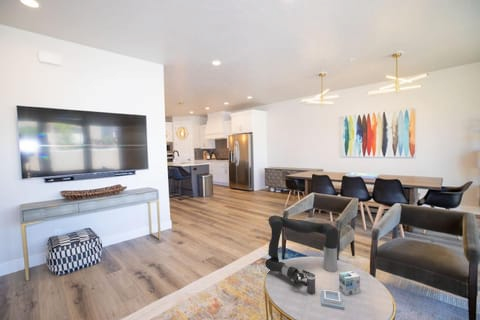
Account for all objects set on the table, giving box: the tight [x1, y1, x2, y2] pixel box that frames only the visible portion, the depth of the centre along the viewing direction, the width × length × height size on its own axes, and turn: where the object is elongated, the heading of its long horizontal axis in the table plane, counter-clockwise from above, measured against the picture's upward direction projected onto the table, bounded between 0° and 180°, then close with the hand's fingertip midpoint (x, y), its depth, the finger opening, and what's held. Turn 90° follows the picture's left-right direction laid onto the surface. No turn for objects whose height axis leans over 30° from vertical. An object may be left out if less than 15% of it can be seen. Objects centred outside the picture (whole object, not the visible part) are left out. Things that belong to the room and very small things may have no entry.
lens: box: [306, 272, 316, 295], centre depth 140 cm, size 5×5×11 cm
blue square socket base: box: [320, 289, 345, 311], centre depth 132 cm, size 12×12×4 cm
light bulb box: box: [338, 270, 361, 296], centre depth 140 cm, size 11×7×11 cm, turn 101°
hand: (310, 281), depth 140 cm, fingers open, 8 cm apart
